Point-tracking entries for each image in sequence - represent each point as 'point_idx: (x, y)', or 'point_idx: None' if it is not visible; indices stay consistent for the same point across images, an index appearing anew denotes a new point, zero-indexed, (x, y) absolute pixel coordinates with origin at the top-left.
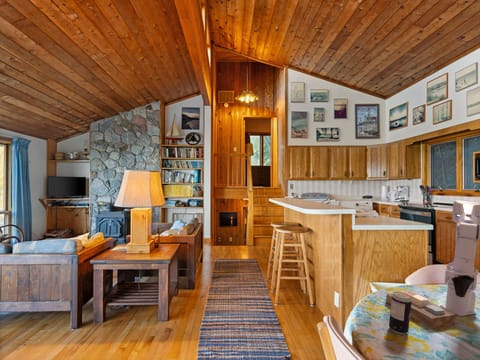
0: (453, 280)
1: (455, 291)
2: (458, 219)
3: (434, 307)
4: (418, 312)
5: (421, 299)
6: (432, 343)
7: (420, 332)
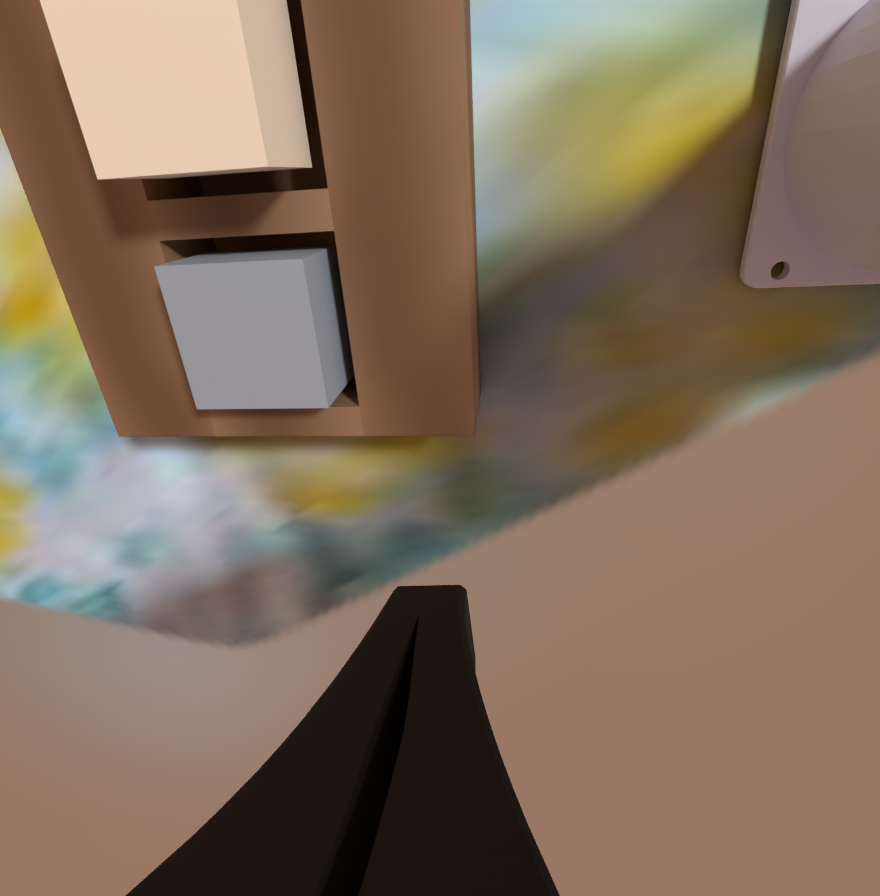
0: (170, 893)
1: (372, 632)
2: None
3: (250, 326)
4: (72, 282)
5: (130, 143)
6: (61, 529)
7: (51, 421)
